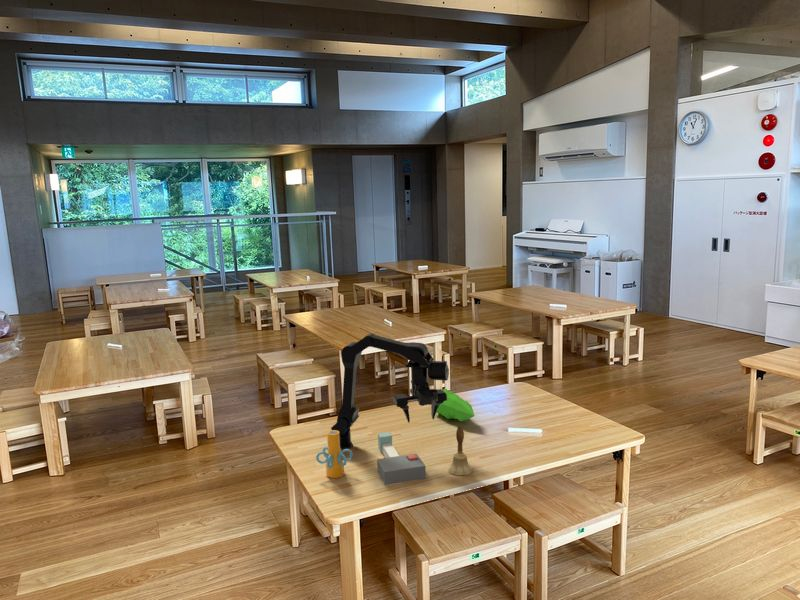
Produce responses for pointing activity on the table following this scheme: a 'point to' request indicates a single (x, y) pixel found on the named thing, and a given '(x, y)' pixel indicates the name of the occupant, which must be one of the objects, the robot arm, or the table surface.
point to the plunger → (411, 457)
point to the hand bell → (460, 457)
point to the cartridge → (386, 445)
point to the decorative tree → (455, 407)
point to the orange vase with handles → (334, 455)
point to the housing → (400, 469)
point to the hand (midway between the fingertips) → (420, 420)
